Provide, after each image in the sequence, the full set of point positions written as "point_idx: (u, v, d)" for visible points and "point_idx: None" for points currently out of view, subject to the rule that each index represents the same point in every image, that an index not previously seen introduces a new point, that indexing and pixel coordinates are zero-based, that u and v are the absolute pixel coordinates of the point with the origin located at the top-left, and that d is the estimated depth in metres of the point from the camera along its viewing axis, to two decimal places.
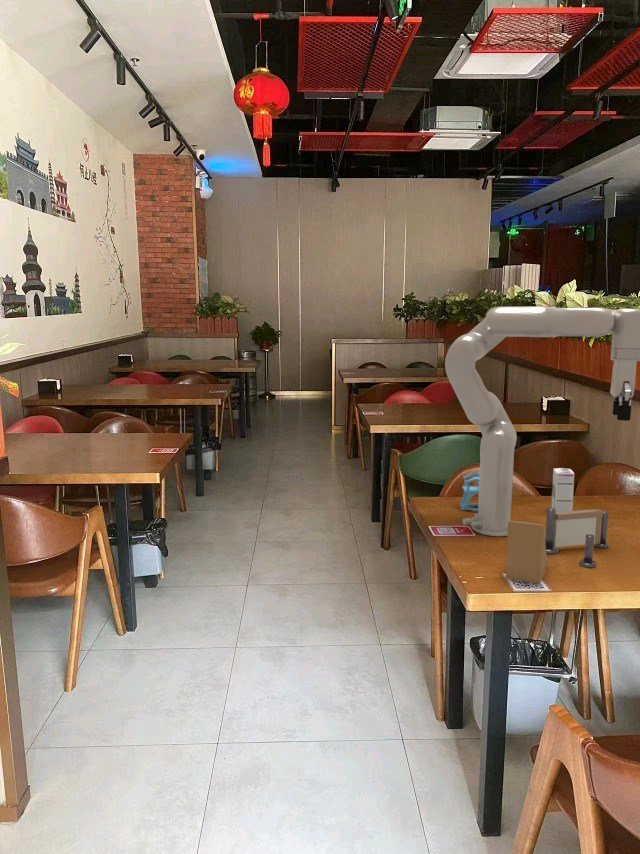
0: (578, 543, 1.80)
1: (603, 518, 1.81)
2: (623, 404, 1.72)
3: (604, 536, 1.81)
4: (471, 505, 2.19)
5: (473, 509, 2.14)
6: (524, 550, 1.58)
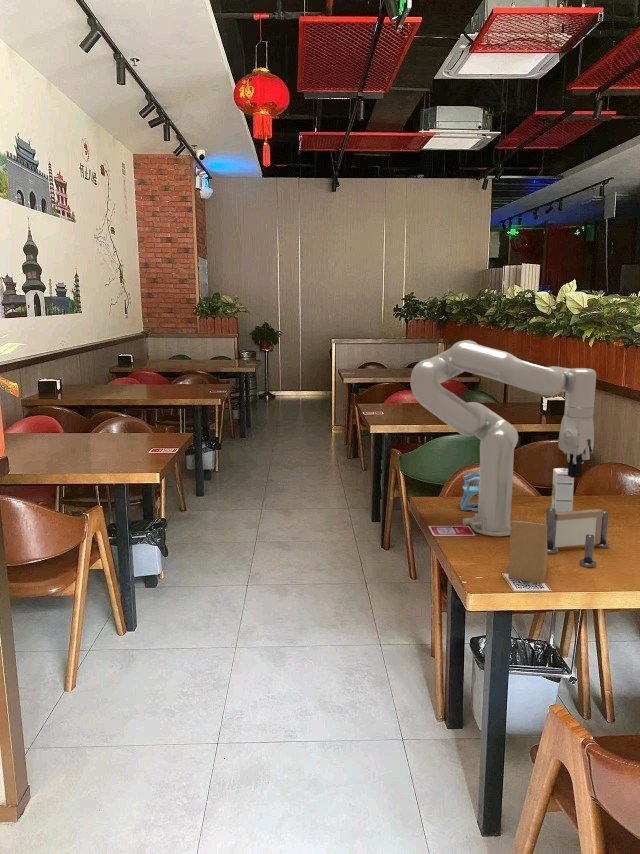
0: (578, 543, 1.80)
1: (603, 518, 1.81)
2: (578, 463, 1.82)
3: (604, 536, 1.81)
4: (471, 505, 2.19)
5: (473, 509, 2.14)
6: (527, 549, 1.58)
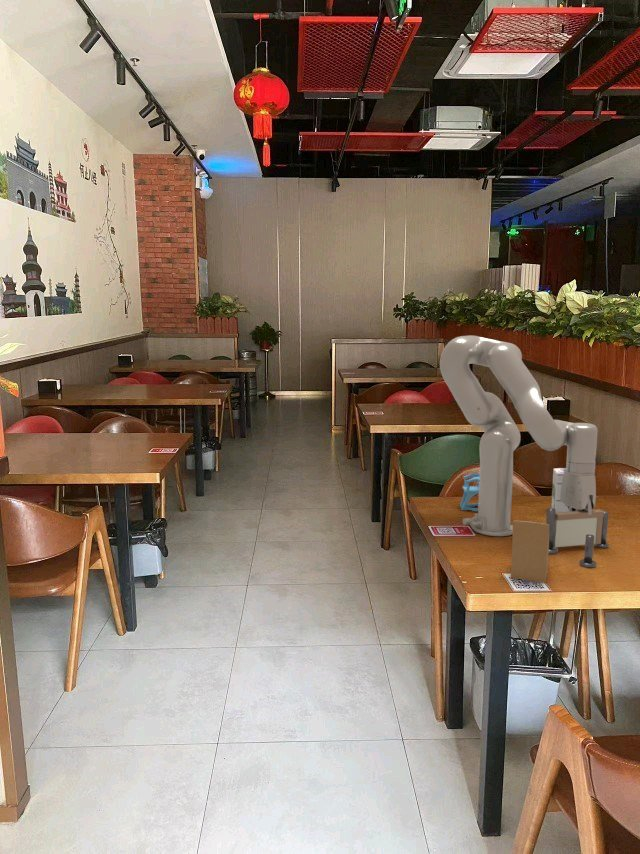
0: (578, 543, 1.80)
1: (603, 518, 1.81)
2: None
3: (604, 536, 1.81)
4: (471, 505, 2.19)
5: (473, 509, 2.14)
6: (529, 549, 1.58)
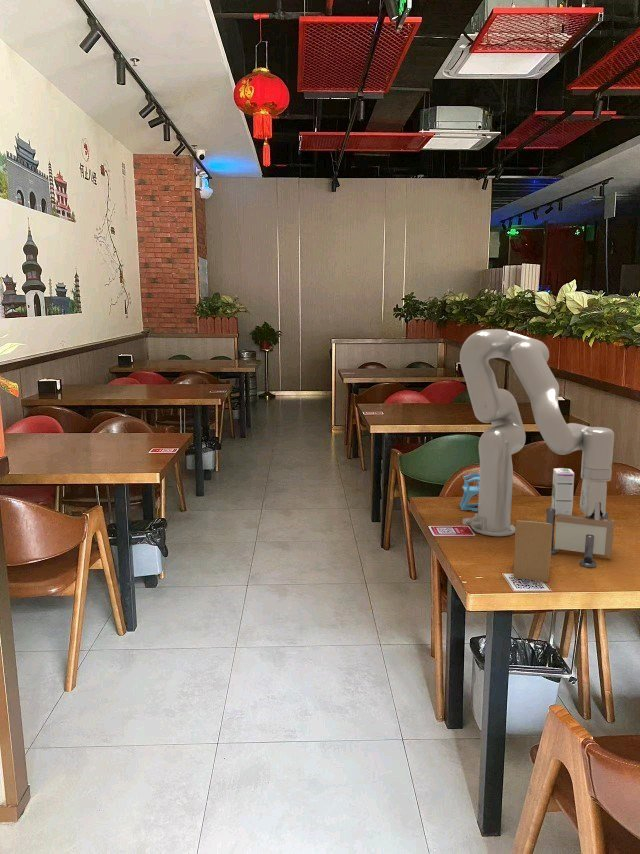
0: (583, 550, 1.75)
1: (603, 518, 1.81)
2: None
3: None
4: (471, 505, 2.19)
5: (473, 509, 2.14)
6: (532, 548, 1.58)
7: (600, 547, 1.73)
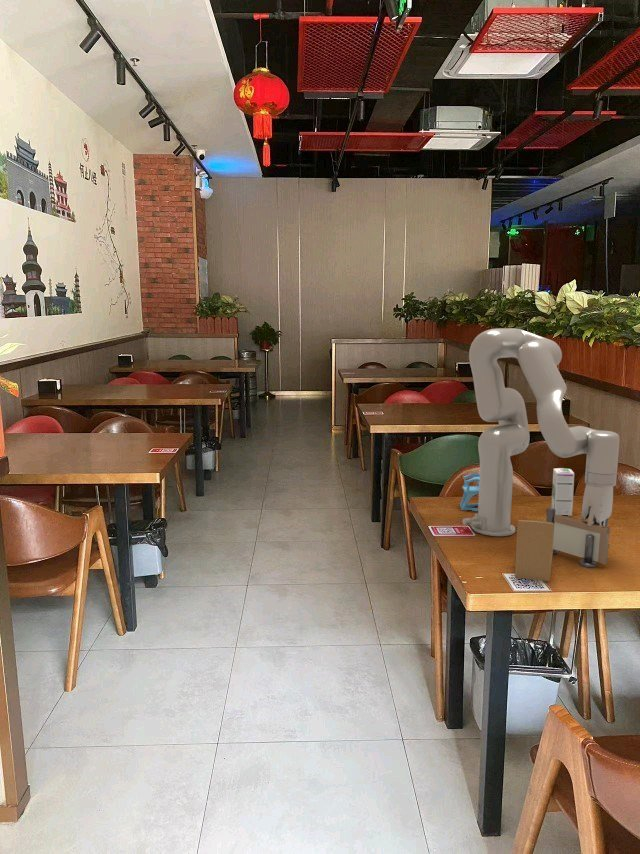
0: (578, 554, 1.72)
1: None
2: None
3: None
4: (471, 505, 2.19)
5: (473, 509, 2.14)
6: (534, 548, 1.59)
7: (594, 554, 1.68)
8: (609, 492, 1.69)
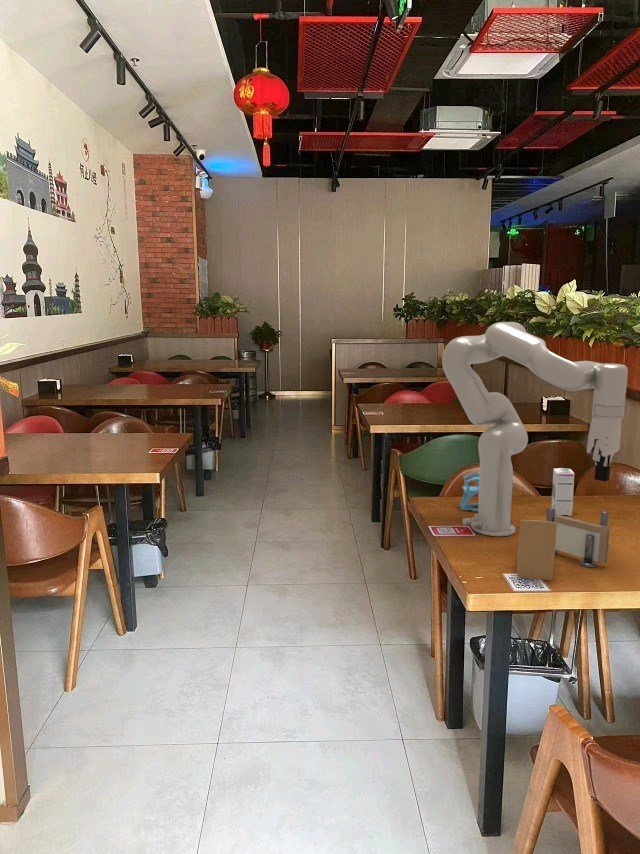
0: (578, 554, 1.72)
1: (603, 518, 1.81)
2: (598, 464, 1.70)
3: None
4: (471, 505, 2.19)
5: (473, 509, 2.14)
6: (536, 547, 1.59)
7: (594, 554, 1.68)
8: (616, 425, 1.67)
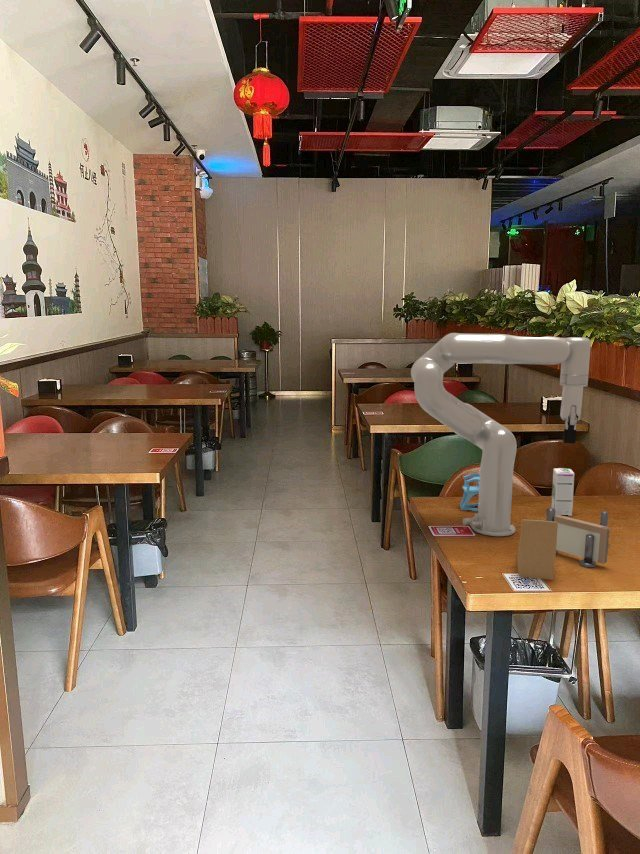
0: (578, 554, 1.72)
1: (603, 518, 1.81)
2: (569, 428, 1.88)
3: None
4: (471, 505, 2.19)
5: (473, 509, 2.14)
6: (538, 547, 1.59)
7: (594, 554, 1.68)
8: None
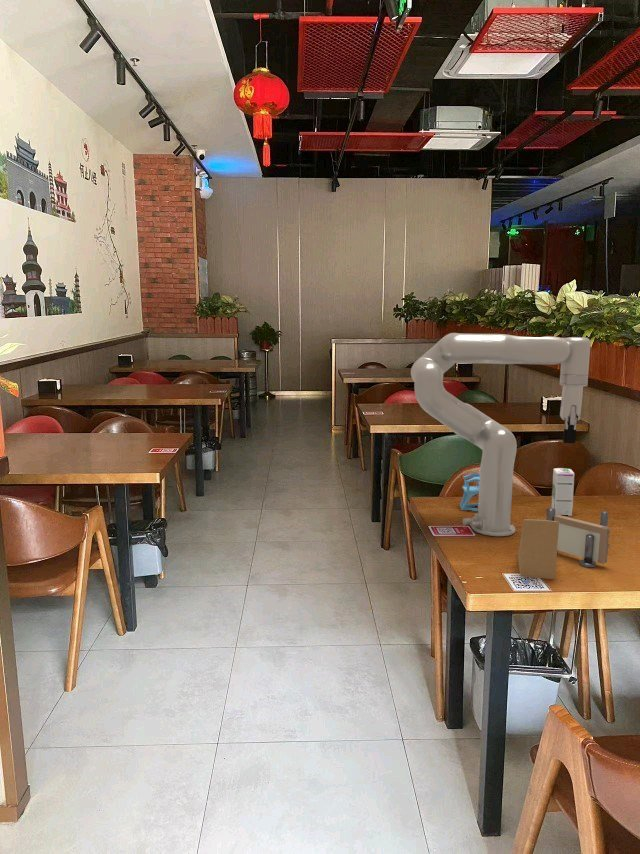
0: (578, 554, 1.72)
1: (603, 518, 1.81)
2: (569, 428, 1.88)
3: None
4: (471, 505, 2.19)
5: (473, 509, 2.14)
6: (539, 547, 1.60)
7: (594, 554, 1.68)
8: None
